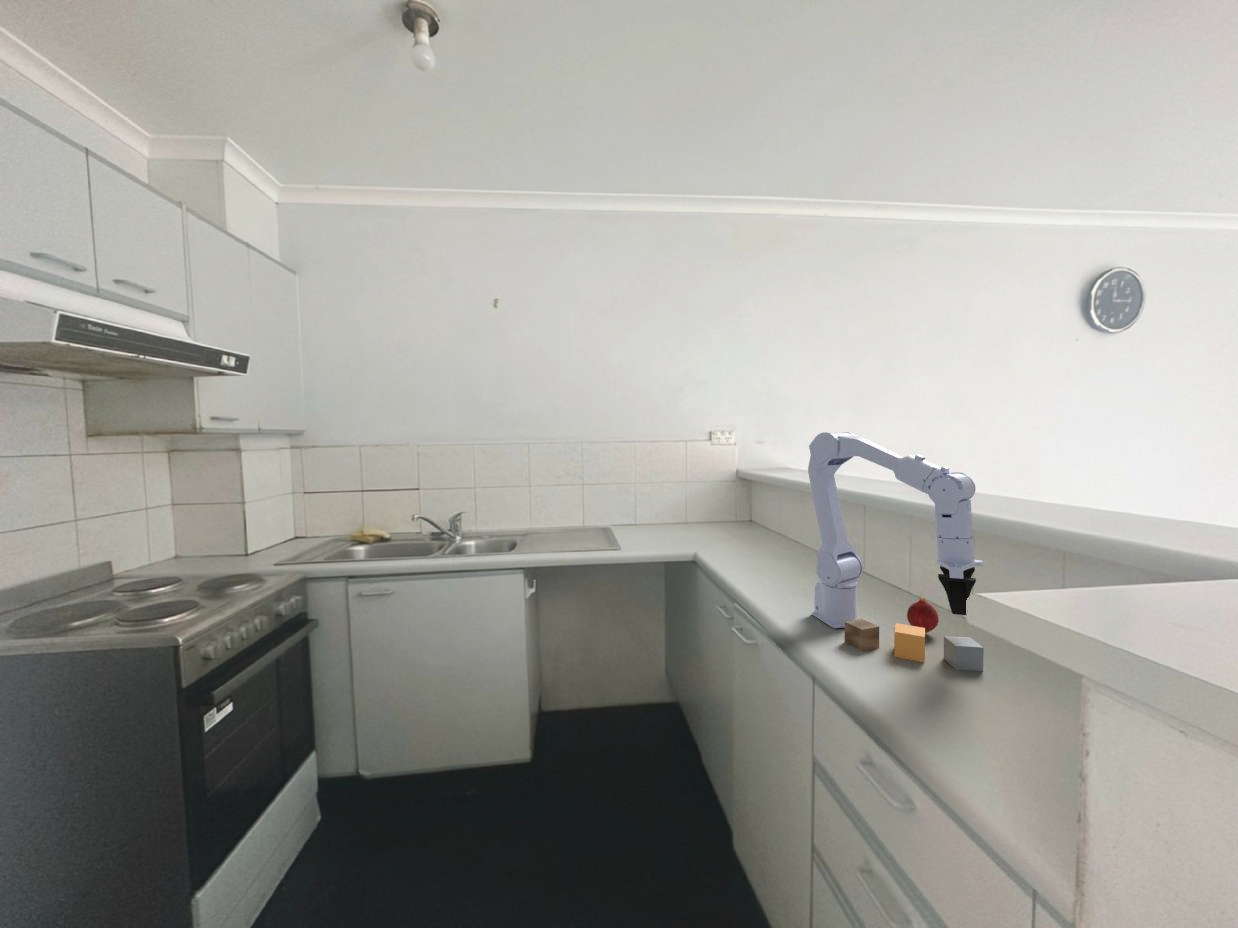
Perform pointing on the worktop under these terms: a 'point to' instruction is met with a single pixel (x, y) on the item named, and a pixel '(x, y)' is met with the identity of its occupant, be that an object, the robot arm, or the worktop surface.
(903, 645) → the orange block
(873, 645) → the walnut block
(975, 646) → the slate block
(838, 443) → the robot arm
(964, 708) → the worktop surface
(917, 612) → the onion
